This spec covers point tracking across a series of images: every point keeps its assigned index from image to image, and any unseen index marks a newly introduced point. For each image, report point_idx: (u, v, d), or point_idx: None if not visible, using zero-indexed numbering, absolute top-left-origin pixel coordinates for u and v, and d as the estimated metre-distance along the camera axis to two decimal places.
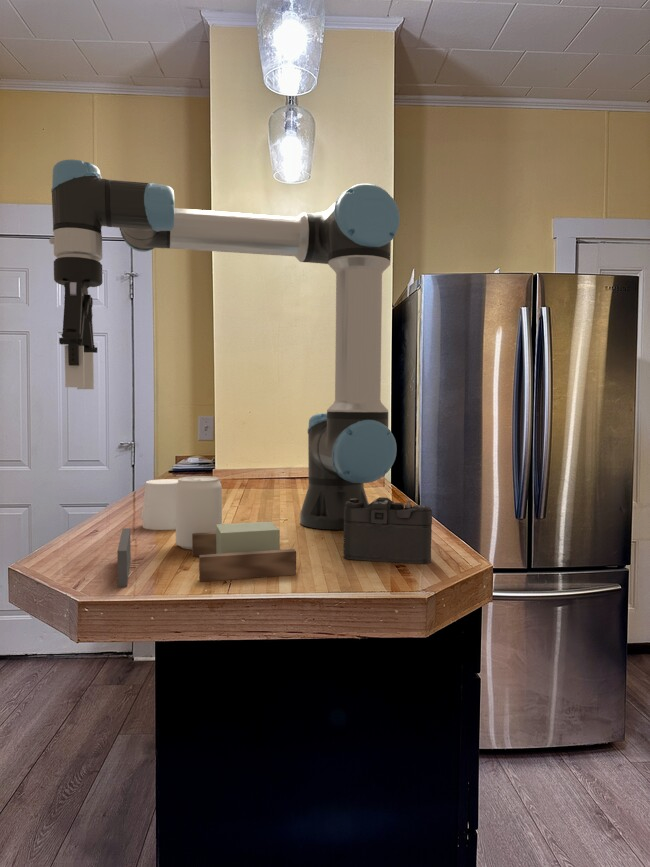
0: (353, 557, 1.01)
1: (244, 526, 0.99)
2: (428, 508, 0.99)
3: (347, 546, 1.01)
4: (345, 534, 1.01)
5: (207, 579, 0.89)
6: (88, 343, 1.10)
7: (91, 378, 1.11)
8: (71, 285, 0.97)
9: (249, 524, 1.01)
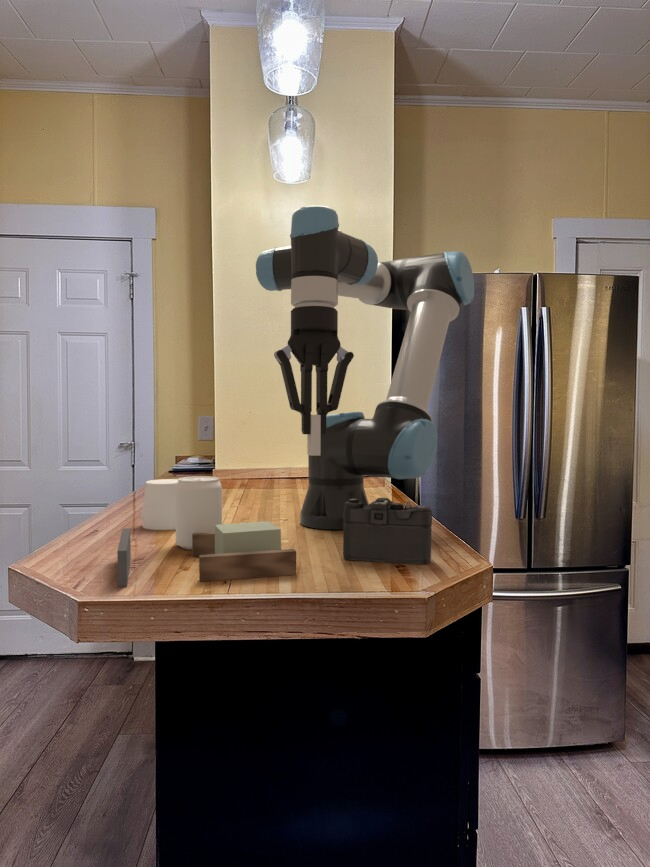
0: (353, 558, 1.00)
1: (244, 526, 0.99)
2: (428, 508, 0.98)
3: (347, 547, 1.01)
4: (345, 534, 1.01)
5: (207, 579, 0.89)
6: (319, 400, 1.00)
7: (315, 443, 1.00)
8: (276, 356, 0.99)
9: (248, 524, 1.01)
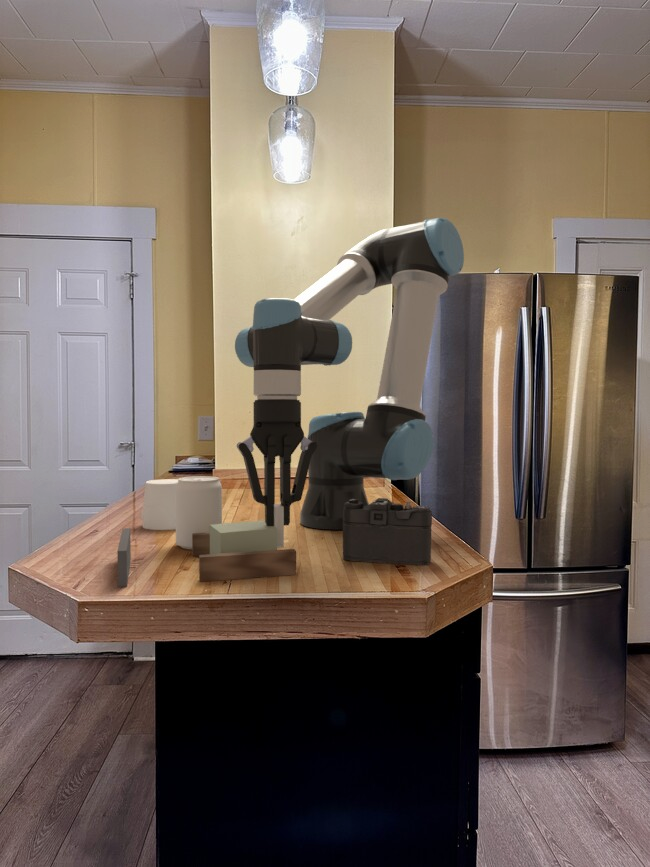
0: (352, 558, 1.00)
1: (240, 526, 0.99)
2: (428, 509, 0.98)
3: (346, 547, 1.00)
4: (344, 535, 1.01)
5: (207, 579, 0.89)
6: (282, 491, 0.99)
7: (279, 535, 0.99)
8: (238, 448, 0.98)
9: (243, 523, 1.00)
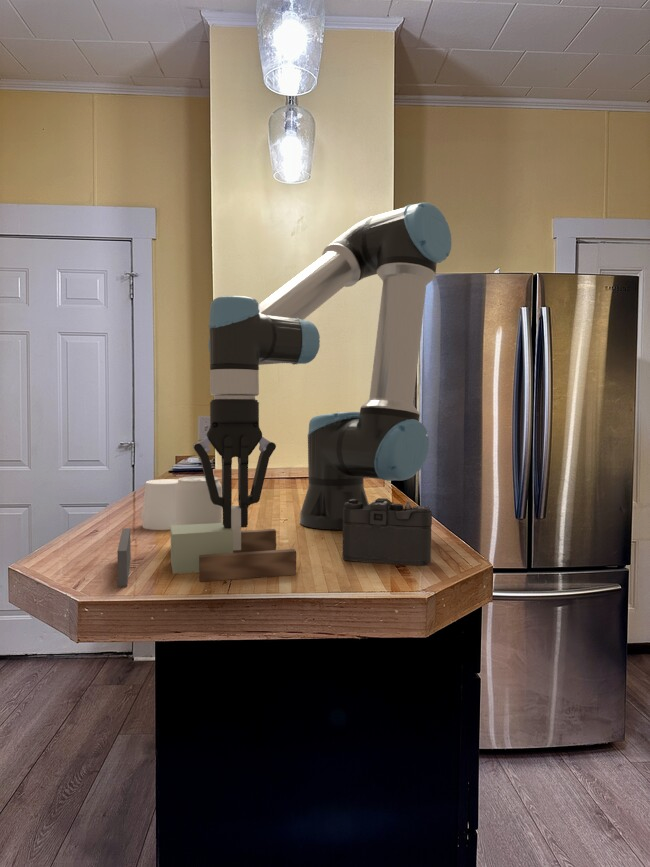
0: (352, 558, 1.00)
1: (198, 527, 0.98)
2: (428, 509, 0.98)
3: (346, 548, 1.00)
4: (344, 535, 1.01)
5: (207, 579, 0.89)
6: (239, 492, 0.97)
7: (236, 537, 0.97)
8: (194, 449, 0.96)
9: (204, 525, 0.99)
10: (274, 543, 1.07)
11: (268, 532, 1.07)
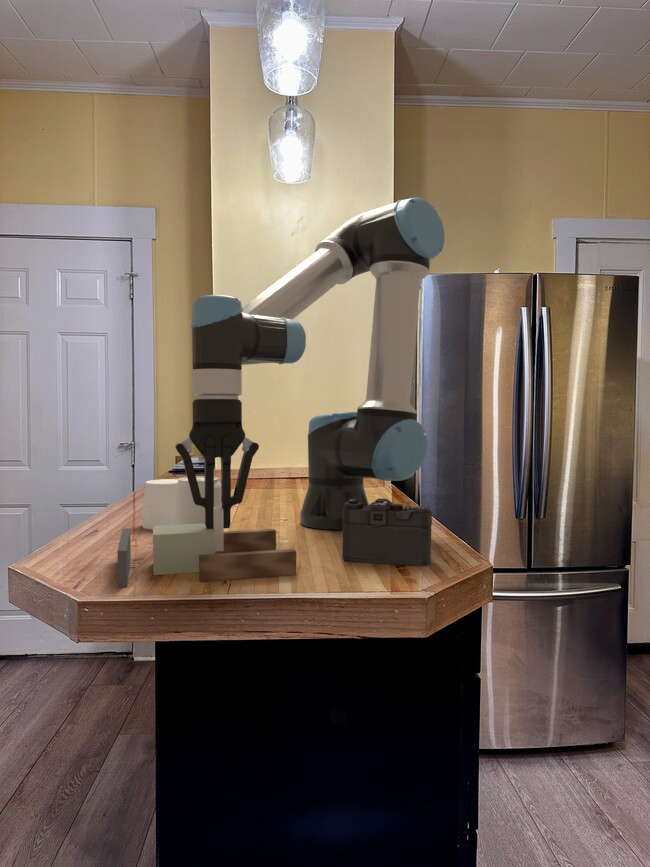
0: (352, 559, 1.00)
1: (180, 528, 0.97)
2: (428, 509, 0.98)
3: (346, 548, 1.00)
4: (344, 535, 1.00)
5: (207, 579, 0.89)
6: (222, 493, 0.97)
7: (218, 538, 0.96)
8: None
9: (186, 526, 0.98)
10: (274, 543, 1.07)
11: (268, 532, 1.07)
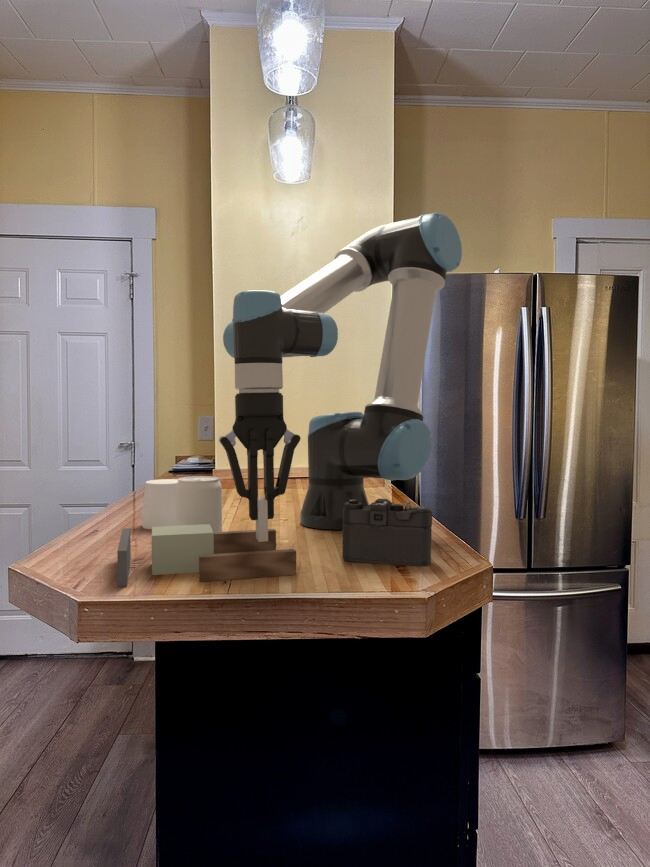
0: (352, 559, 1.00)
1: (179, 529, 0.97)
2: (428, 509, 0.97)
3: (346, 548, 1.00)
4: (344, 536, 1.00)
5: (207, 579, 0.89)
6: (265, 484, 0.99)
7: (263, 529, 0.99)
8: (220, 442, 0.97)
9: (186, 527, 0.98)
10: (274, 543, 1.07)
11: (268, 532, 1.07)
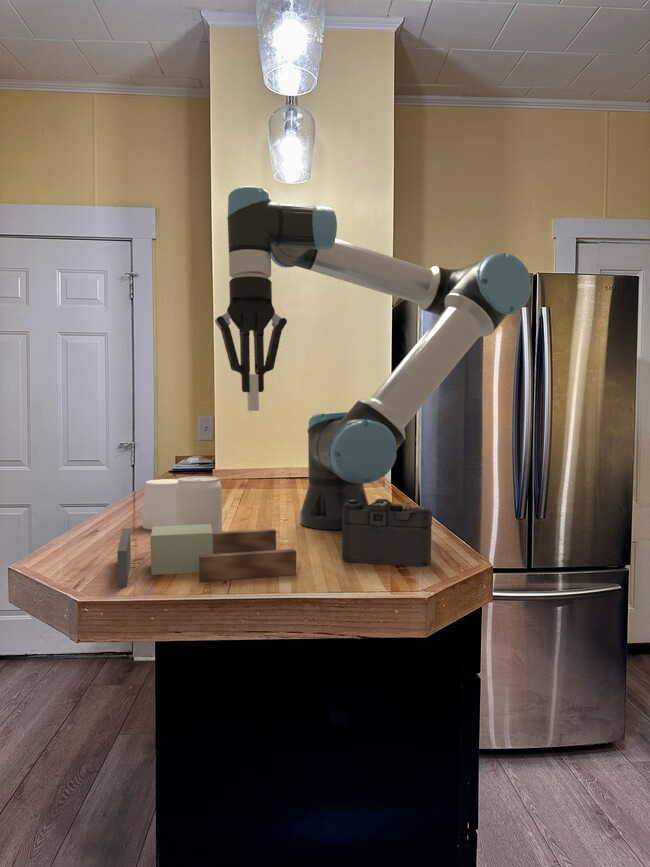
0: (352, 559, 0.99)
1: (179, 529, 0.97)
2: (428, 510, 0.97)
3: (346, 549, 1.00)
4: (344, 536, 1.00)
5: (207, 579, 0.89)
6: (256, 361, 1.12)
7: (254, 400, 1.12)
8: (216, 322, 1.10)
9: (186, 527, 0.98)
10: (274, 543, 1.07)
11: (268, 532, 1.07)
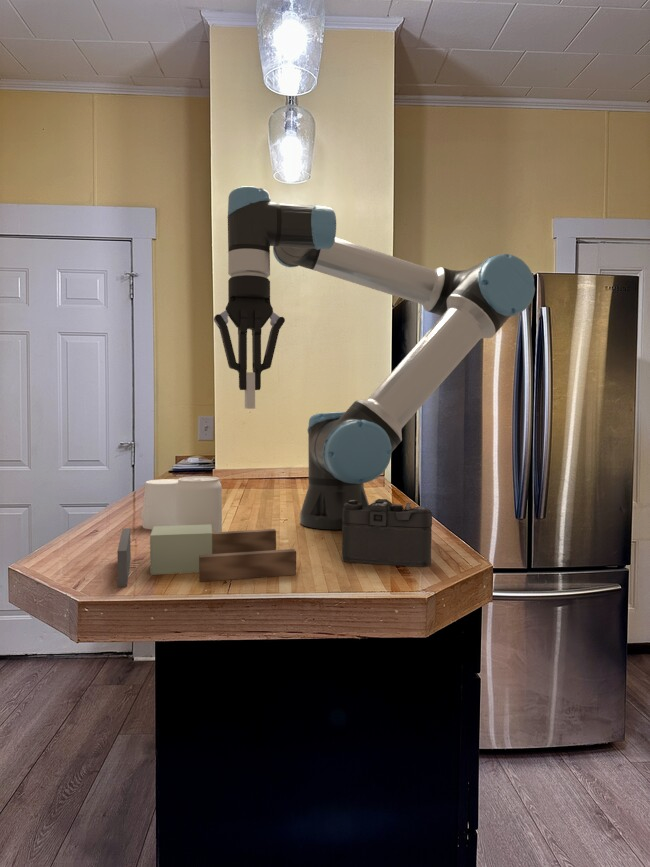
0: (352, 560, 0.99)
1: (180, 529, 0.97)
2: (428, 510, 0.97)
3: (346, 549, 0.99)
4: (343, 536, 1.00)
5: (207, 579, 0.89)
6: (254, 359, 1.13)
7: (251, 397, 1.13)
8: (215, 320, 1.12)
9: (186, 527, 0.98)
10: (274, 543, 1.07)
11: (268, 532, 1.07)
